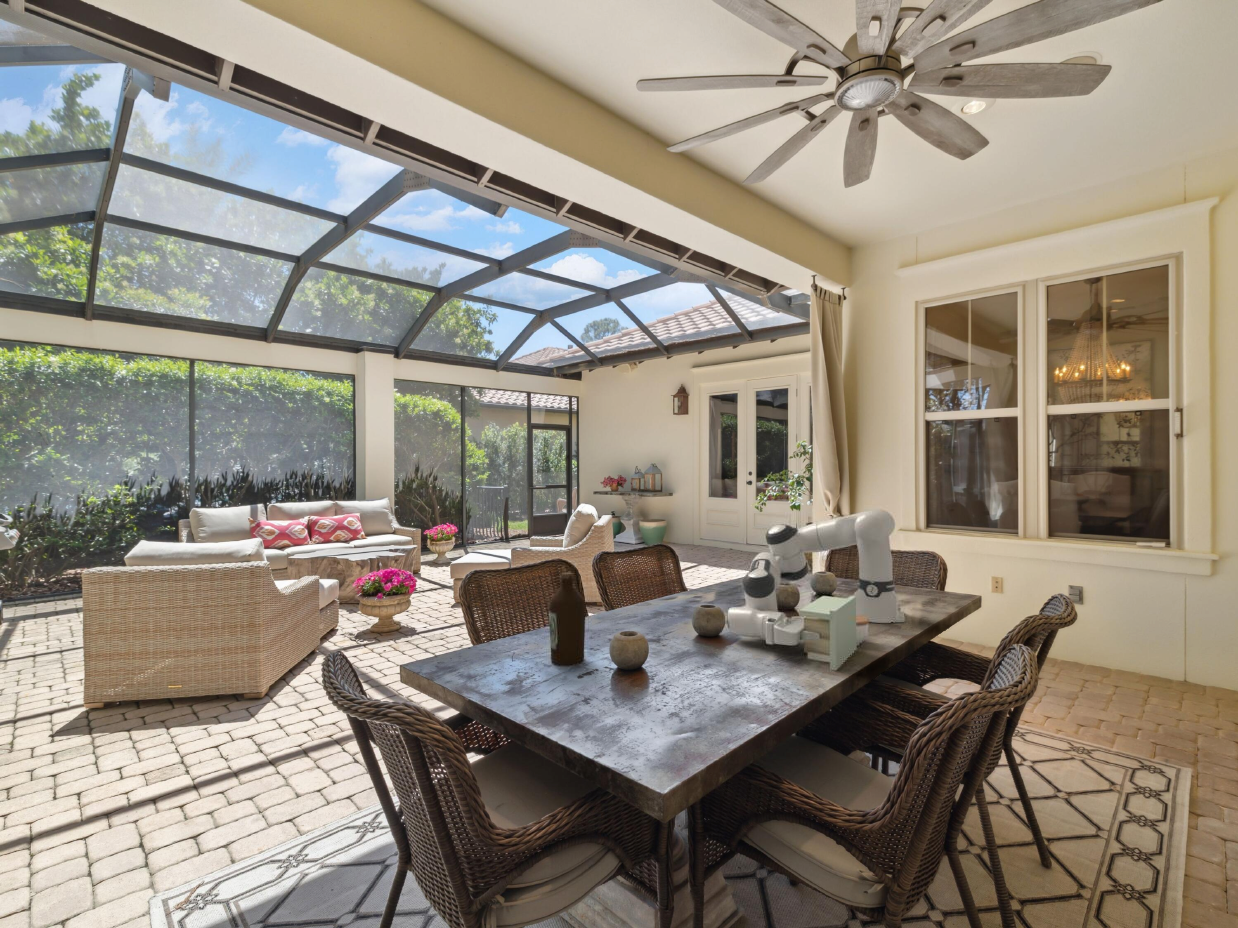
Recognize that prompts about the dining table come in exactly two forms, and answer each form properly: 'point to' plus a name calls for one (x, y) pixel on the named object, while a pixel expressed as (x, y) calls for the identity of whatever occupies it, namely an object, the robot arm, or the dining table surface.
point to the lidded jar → (861, 628)
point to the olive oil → (567, 624)
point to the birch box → (824, 628)
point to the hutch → (835, 627)
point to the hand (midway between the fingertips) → (823, 633)
